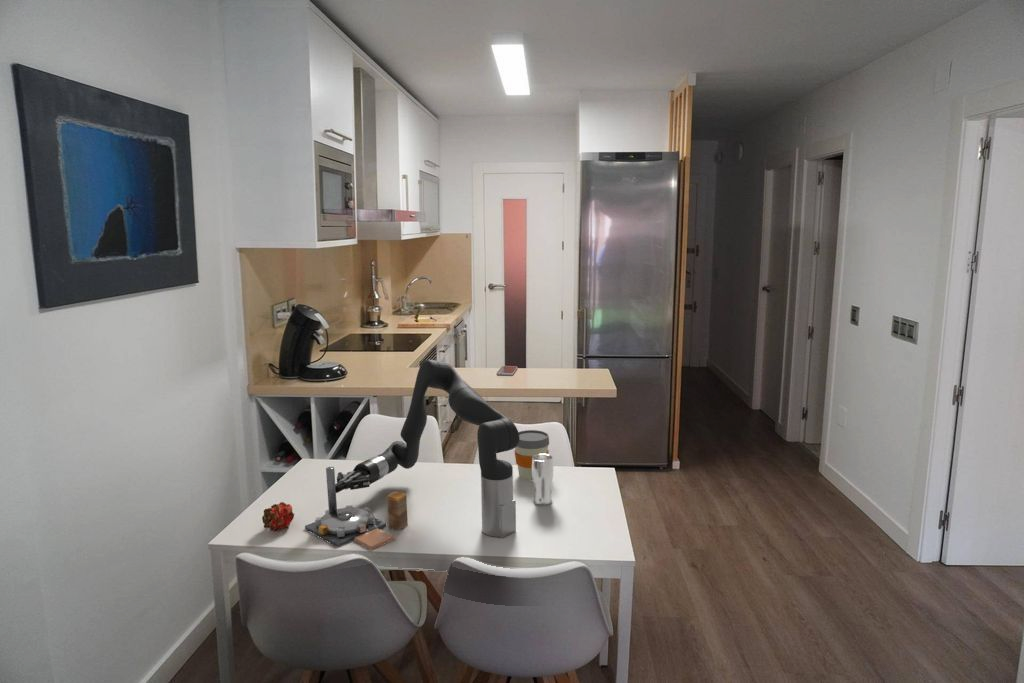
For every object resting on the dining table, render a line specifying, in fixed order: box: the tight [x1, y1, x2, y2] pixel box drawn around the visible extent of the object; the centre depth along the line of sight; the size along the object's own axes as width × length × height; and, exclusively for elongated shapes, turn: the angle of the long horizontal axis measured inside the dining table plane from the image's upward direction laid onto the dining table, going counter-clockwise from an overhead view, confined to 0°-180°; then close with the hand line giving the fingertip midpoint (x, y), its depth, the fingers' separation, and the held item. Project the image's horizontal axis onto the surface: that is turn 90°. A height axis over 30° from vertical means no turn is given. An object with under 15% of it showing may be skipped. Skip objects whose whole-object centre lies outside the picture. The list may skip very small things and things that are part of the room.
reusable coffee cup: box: [514, 429, 550, 482], centre depth 240 cm, size 13×12×15 cm
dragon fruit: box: [261, 501, 295, 532], centre depth 203 cm, size 8×8×12 cm
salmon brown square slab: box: [354, 528, 395, 550], centre depth 195 cm, size 8×8×1 cm
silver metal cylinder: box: [532, 453, 555, 506], centre depth 218 cm, size 7×7×15 cm
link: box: [386, 490, 409, 531], centre depth 202 cm, size 4×4×10 cm
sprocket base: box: [304, 517, 387, 548], centre depth 203 cm, size 17×17×1 cm
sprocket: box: [314, 466, 376, 537], centre depth 201 cm, size 17×17×16 cm
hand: (334, 489), depth 206 cm, fingers closed
